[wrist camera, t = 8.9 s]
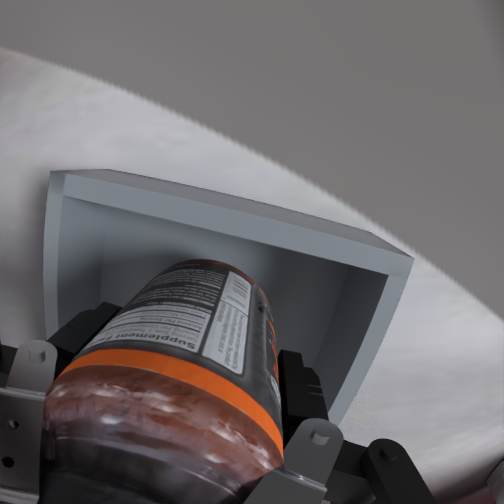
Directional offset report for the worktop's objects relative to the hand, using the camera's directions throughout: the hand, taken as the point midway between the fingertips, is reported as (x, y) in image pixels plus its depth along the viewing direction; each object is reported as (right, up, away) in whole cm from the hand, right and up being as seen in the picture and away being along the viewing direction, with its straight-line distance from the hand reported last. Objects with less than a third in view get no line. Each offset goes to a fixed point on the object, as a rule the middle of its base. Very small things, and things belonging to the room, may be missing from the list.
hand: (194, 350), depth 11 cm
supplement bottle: (0, +1, +3) cm, 3 cm away
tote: (-1, -2, +6) cm, 6 cm away
